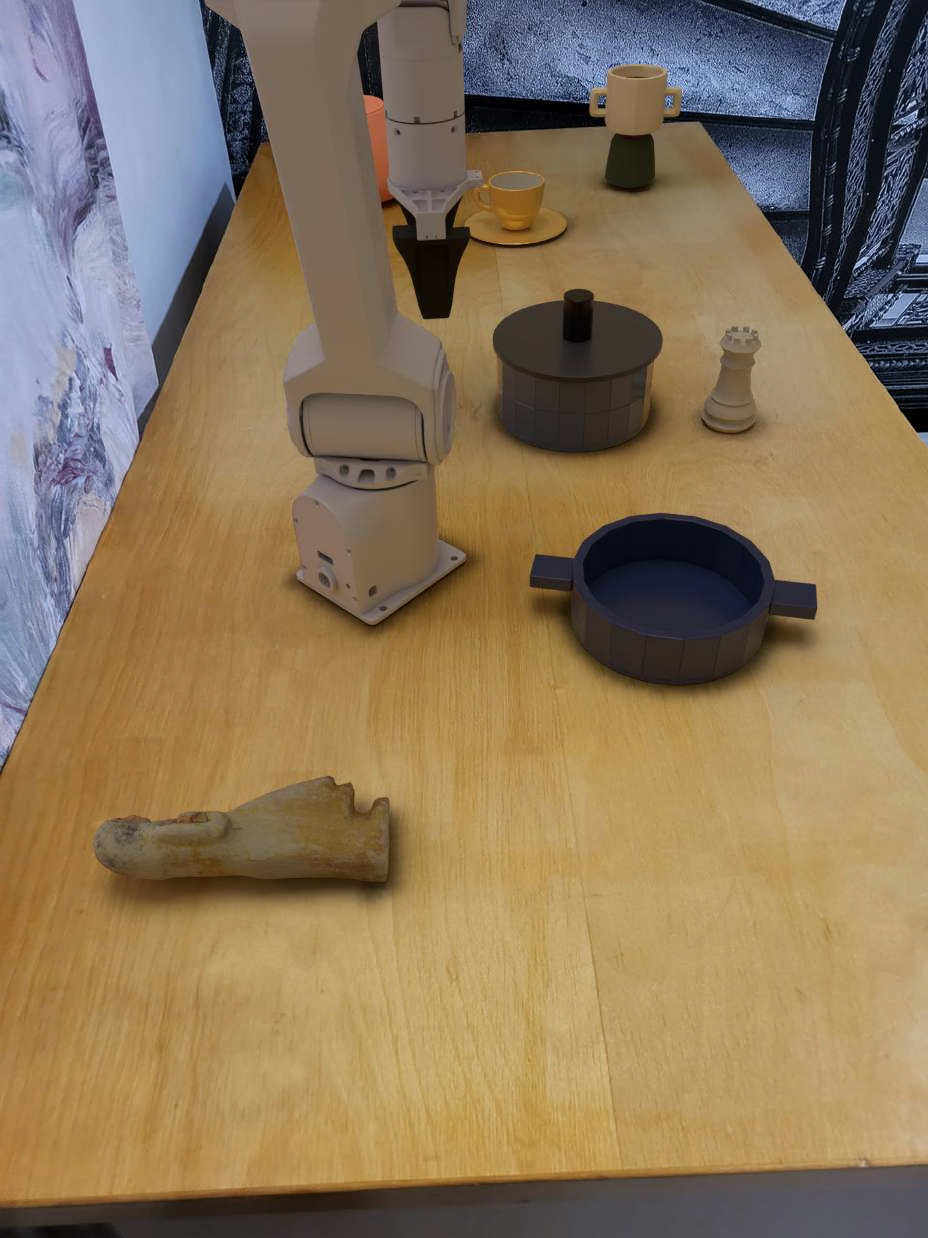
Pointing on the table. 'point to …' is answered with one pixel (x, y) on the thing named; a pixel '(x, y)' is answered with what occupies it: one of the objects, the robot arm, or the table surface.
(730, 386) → the rook chess piece
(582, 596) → the pan
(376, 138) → the teapot
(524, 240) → the cup
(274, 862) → the figurine
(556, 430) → the pot
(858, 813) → the table surface
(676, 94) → the character mug
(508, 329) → the lid
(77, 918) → the table surface
